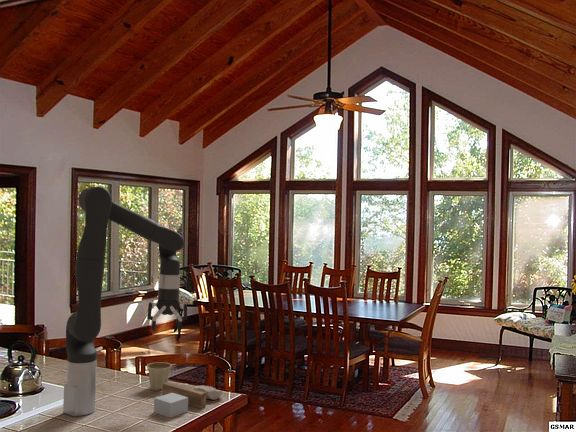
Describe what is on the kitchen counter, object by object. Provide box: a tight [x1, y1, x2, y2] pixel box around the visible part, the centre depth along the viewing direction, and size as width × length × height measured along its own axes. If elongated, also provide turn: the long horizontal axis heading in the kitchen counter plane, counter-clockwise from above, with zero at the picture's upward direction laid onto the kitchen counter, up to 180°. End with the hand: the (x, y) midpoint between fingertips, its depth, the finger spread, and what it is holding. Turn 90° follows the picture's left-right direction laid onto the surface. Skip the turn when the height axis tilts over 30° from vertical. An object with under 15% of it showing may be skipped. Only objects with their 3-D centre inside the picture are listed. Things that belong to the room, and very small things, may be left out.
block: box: [153, 393, 189, 418], centre depth 198 cm, size 8×8×5 cm
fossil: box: [193, 385, 223, 401], centre depth 214 cm, size 9×6×10 cm
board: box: [161, 381, 207, 409], centre depth 208 cm, size 2×19×5 cm, turn 56°
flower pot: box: [146, 361, 173, 391], centre depth 224 cm, size 9×9×9 cm
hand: (166, 331), depth 213 cm, fingers open, 8 cm apart
